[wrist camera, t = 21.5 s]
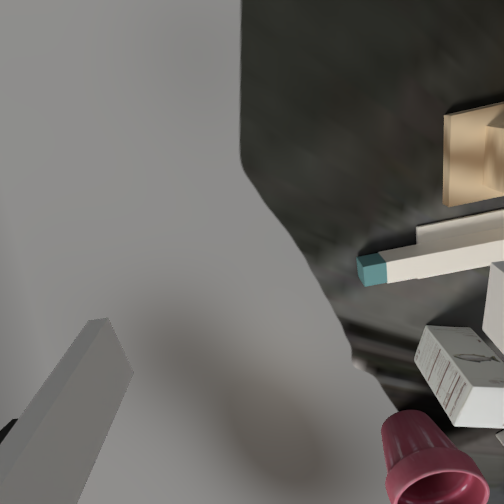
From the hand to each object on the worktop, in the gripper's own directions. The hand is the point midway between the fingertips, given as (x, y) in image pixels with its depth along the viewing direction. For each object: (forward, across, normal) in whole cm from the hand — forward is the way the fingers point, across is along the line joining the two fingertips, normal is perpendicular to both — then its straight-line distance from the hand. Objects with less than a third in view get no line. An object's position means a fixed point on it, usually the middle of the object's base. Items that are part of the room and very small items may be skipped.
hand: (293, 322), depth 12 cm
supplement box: (+34, +21, -35) cm, 53 cm away
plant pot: (+33, +16, -53) cm, 64 cm away
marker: (+33, +20, -18) cm, 42 cm away
